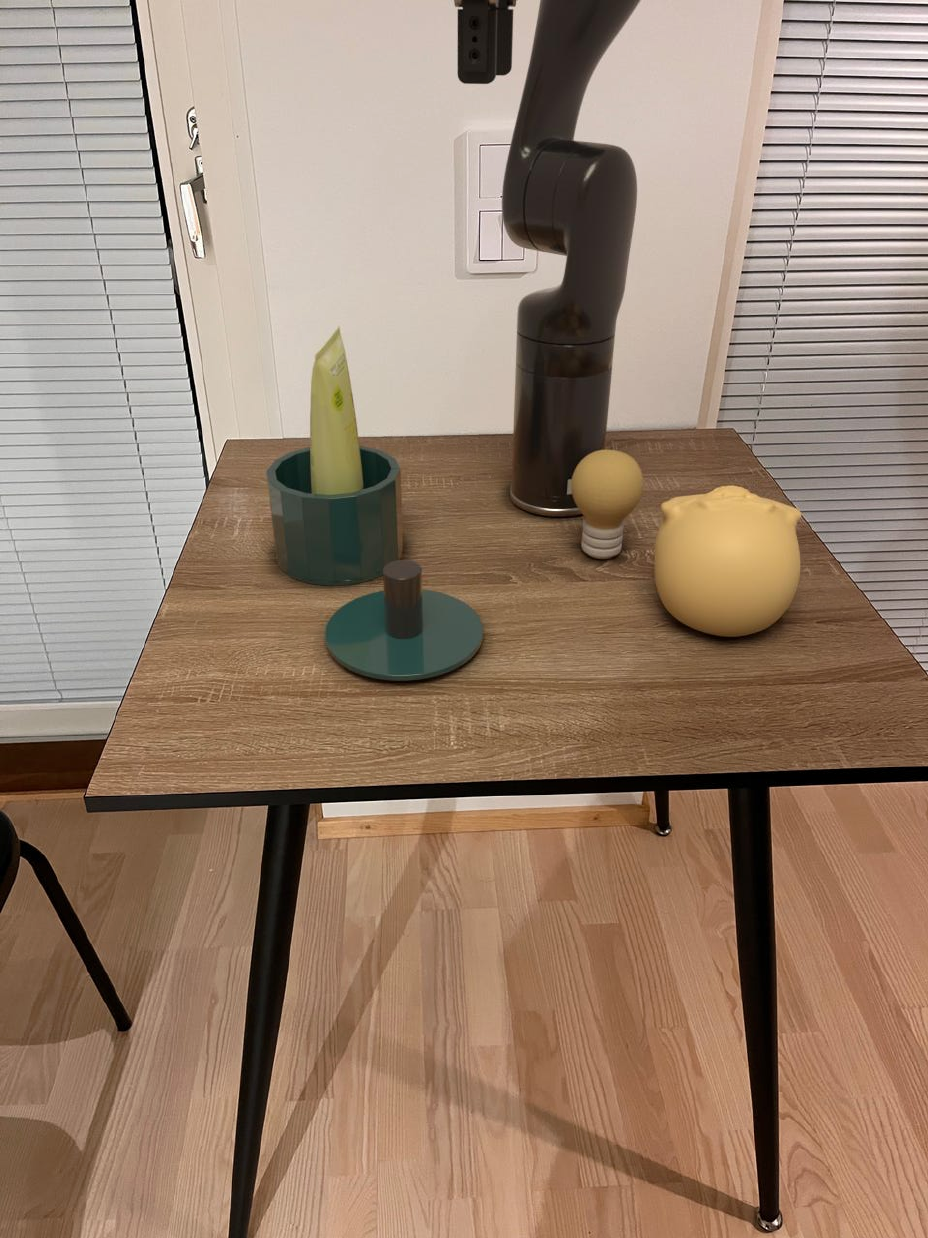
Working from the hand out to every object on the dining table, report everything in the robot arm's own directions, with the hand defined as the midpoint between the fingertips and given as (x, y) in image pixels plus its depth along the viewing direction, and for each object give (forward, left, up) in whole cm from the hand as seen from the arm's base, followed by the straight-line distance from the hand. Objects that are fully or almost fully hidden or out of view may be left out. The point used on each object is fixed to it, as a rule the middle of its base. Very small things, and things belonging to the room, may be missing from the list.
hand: (486, 78), depth 60 cm
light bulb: (-11, +10, -39) cm, 42 cm away
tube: (-7, -14, -39) cm, 42 cm away
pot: (-7, -14, -39) cm, 42 cm away
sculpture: (-2, +20, -39) cm, 44 cm away
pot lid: (+6, -5, -38) cm, 39 cm away
